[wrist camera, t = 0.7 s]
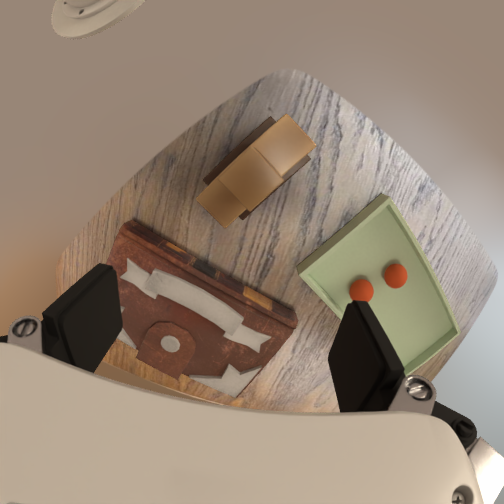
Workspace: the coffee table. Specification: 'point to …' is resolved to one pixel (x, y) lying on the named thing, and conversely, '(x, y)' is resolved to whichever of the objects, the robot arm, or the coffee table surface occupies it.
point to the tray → (385, 298)
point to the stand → (243, 147)
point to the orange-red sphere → (361, 290)
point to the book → (193, 314)
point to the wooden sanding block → (256, 171)
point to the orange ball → (395, 276)
